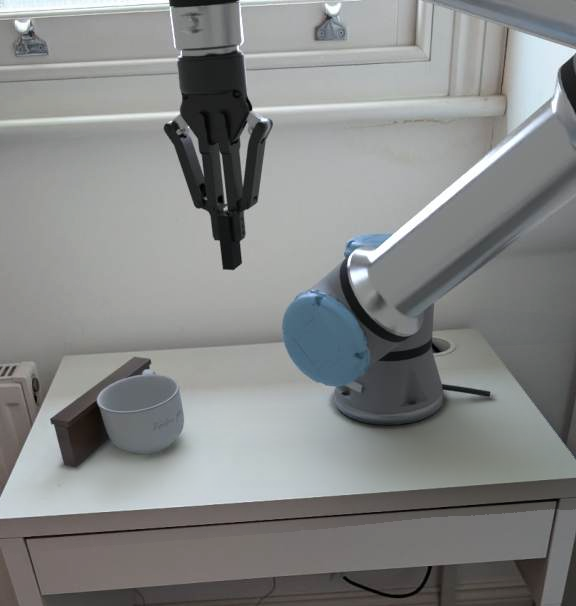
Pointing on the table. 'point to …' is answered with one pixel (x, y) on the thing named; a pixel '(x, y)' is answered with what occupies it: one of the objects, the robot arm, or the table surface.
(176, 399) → the teacup
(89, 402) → the back rail
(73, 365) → the table surface
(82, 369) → the table surface
